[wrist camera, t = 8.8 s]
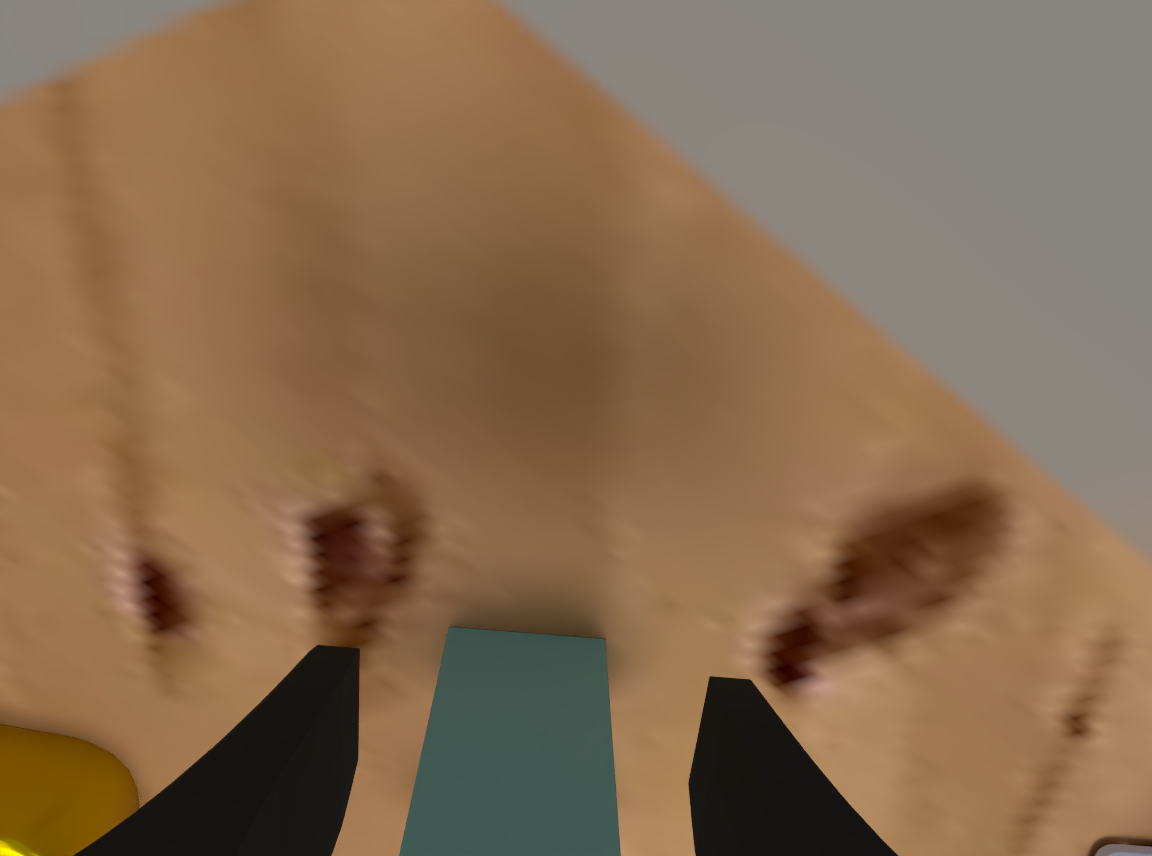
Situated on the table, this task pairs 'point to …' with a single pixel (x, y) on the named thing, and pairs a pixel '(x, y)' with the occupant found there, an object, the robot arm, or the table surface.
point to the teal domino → (516, 750)
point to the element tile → (58, 793)
